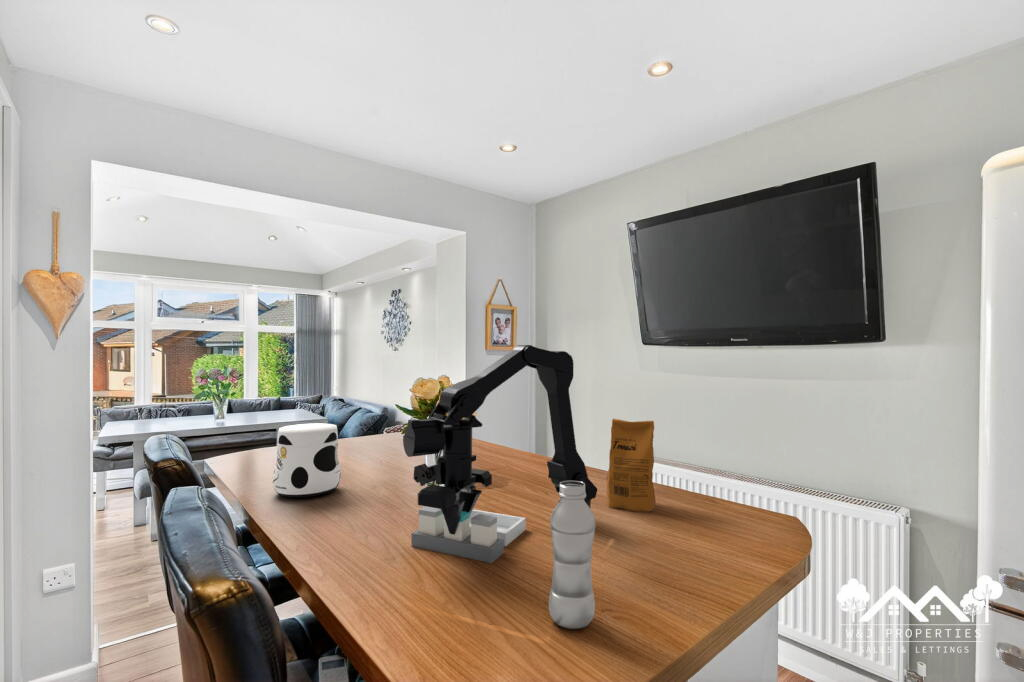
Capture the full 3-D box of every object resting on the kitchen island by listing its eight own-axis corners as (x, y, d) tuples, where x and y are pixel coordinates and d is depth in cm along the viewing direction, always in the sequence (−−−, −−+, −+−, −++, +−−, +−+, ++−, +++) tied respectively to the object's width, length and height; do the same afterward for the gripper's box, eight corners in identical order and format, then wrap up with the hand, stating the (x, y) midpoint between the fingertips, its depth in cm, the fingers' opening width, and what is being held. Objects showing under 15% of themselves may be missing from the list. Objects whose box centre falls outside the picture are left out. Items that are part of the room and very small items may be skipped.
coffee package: (610, 497, 131) (610, 415, 131) (657, 503, 126) (657, 418, 126) (602, 507, 121) (602, 420, 122) (653, 514, 116) (652, 423, 117)
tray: (525, 531, 105) (525, 517, 105) (505, 548, 96) (505, 533, 96) (462, 520, 112) (462, 507, 112) (438, 535, 103) (438, 521, 103)
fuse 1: (443, 542, 97) (444, 508, 97) (435, 548, 95) (435, 512, 95) (427, 539, 99) (427, 505, 99) (418, 544, 96) (418, 509, 96)
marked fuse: (469, 548, 95) (469, 512, 95) (461, 553, 92) (461, 517, 92) (452, 544, 96) (452, 509, 97) (443, 550, 94) (444, 513, 94)
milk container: (259, 494, 131) (260, 428, 131) (317, 481, 145) (318, 421, 146) (295, 506, 121) (296, 434, 122) (353, 490, 135) (354, 426, 136)
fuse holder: (503, 555, 93) (503, 539, 93) (491, 565, 88) (491, 549, 88) (426, 539, 100) (426, 524, 100) (411, 548, 96) (411, 533, 96)
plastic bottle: (547, 610, 73) (548, 477, 74) (592, 611, 73) (592, 478, 73) (549, 635, 67) (549, 489, 67) (598, 636, 66) (598, 490, 67)
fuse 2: (496, 553, 92) (496, 516, 92) (489, 559, 89) (489, 521, 90) (478, 550, 94) (478, 513, 94) (470, 555, 91) (471, 518, 91)
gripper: (448, 439, 107) (447, 511, 106) (394, 456, 90) (393, 540, 89) (493, 444, 102) (492, 518, 101) (444, 462, 85) (444, 551, 85)
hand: (456, 531), depth 94 cm, fingers closed on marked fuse, 3 cm apart
